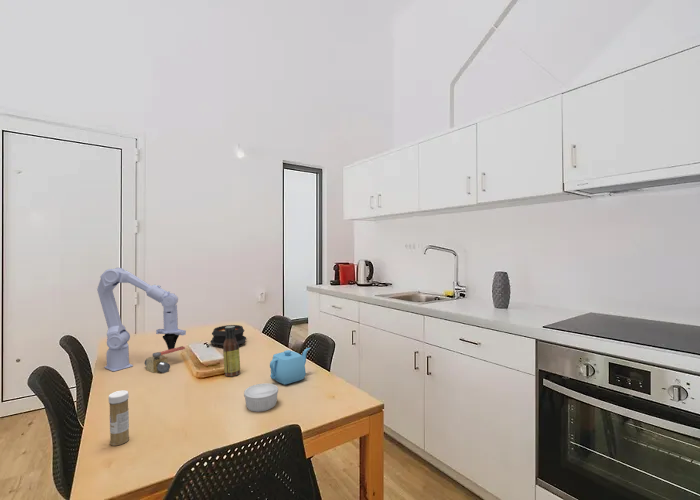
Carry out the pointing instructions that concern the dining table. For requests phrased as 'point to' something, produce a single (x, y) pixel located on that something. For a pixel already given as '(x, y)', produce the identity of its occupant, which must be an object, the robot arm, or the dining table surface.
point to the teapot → (288, 366)
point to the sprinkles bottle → (119, 417)
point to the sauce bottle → (231, 353)
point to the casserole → (220, 335)
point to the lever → (167, 351)
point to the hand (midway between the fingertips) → (171, 350)
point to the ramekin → (261, 397)
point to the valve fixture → (157, 364)
